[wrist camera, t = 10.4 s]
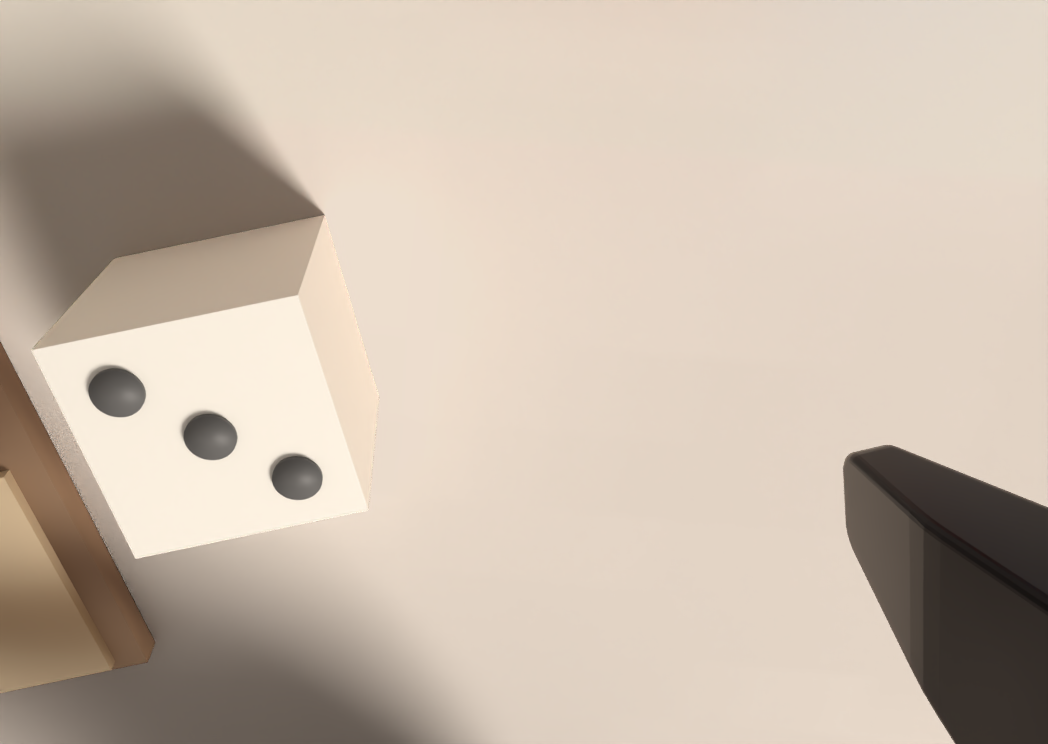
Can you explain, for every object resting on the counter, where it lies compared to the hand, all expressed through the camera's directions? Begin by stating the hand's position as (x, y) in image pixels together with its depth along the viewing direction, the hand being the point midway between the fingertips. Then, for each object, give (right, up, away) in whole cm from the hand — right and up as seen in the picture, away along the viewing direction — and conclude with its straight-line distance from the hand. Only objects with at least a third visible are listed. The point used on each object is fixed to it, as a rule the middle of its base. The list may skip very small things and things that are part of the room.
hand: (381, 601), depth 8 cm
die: (-5, +3, +11) cm, 13 cm away
